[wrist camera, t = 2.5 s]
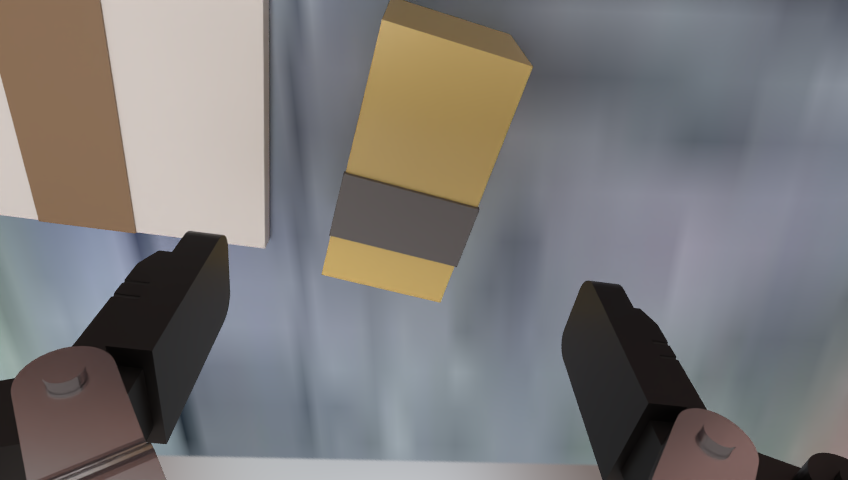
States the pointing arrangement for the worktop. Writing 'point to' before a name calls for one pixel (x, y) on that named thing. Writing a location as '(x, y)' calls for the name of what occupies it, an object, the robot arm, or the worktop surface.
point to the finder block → (423, 149)
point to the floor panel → (137, 115)
